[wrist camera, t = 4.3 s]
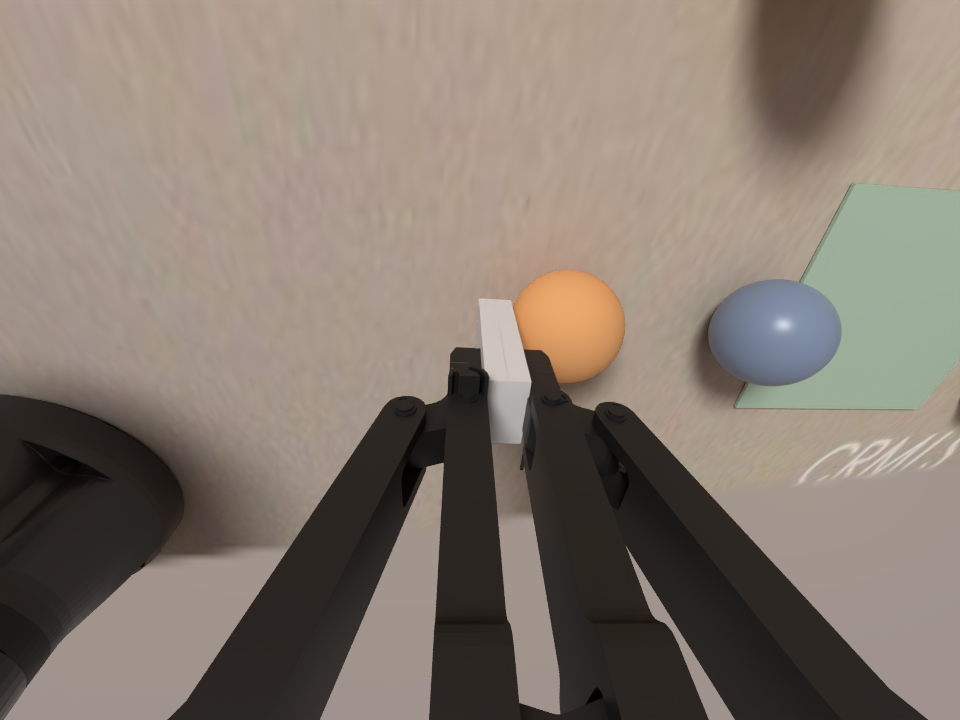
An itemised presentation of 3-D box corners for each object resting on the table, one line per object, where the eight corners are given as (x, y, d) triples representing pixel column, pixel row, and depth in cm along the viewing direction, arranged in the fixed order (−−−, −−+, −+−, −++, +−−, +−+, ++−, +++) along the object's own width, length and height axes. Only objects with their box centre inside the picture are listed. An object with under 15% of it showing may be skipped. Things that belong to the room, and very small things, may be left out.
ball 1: (483, 377, 20) (586, 422, 17) (493, 272, 17) (618, 309, 14) (533, 338, 24) (622, 370, 21) (547, 248, 21) (652, 273, 18)
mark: (733, 406, 26) (735, 407, 26) (852, 183, 19) (855, 183, 19) (914, 407, 28) (917, 409, 28) (1090, 200, 20) (1095, 201, 20)
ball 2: (675, 350, 24) (731, 408, 19) (709, 262, 21) (785, 304, 16) (758, 352, 24) (832, 408, 20) (803, 266, 21) (903, 309, 17)
